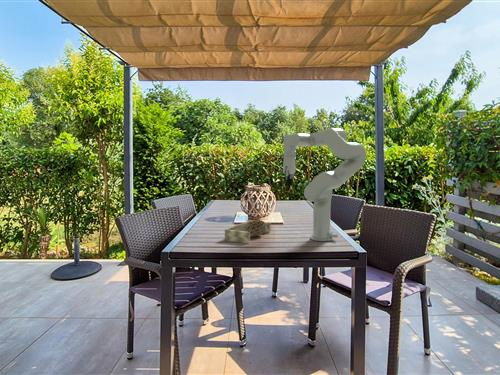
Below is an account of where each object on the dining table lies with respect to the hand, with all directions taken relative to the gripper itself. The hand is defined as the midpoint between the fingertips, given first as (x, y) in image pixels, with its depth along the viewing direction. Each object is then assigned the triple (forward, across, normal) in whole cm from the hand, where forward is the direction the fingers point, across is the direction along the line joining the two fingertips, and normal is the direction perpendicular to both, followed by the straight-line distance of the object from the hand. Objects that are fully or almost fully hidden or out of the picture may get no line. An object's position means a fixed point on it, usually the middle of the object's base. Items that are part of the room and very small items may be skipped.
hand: (289, 185), depth 198 cm
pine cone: (+29, +22, -17) cm, 40 cm away
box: (+29, +20, -18) cm, 40 cm away
